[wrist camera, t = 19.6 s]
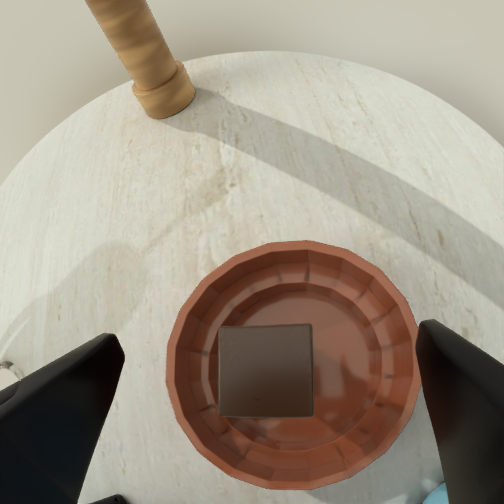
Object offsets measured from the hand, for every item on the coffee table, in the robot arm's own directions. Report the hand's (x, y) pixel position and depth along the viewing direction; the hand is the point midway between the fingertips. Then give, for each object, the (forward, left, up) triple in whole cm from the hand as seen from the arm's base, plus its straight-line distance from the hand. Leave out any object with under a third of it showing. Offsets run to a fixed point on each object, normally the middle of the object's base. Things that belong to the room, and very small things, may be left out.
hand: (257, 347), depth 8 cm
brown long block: (0, -1, -12) cm, 12 cm away
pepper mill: (+6, +30, -13) cm, 33 cm away
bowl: (0, -1, -13) cm, 13 cm away
